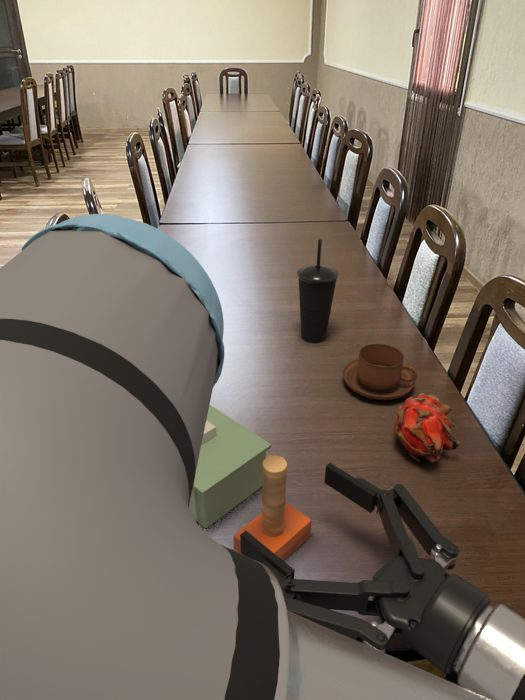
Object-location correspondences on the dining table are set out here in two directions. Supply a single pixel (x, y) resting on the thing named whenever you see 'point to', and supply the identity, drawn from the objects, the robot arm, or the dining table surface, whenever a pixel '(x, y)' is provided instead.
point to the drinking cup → (316, 298)
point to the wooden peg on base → (276, 514)
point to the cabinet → (226, 469)
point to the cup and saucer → (380, 373)
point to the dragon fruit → (425, 427)
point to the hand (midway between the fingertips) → (287, 504)
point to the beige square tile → (208, 432)
